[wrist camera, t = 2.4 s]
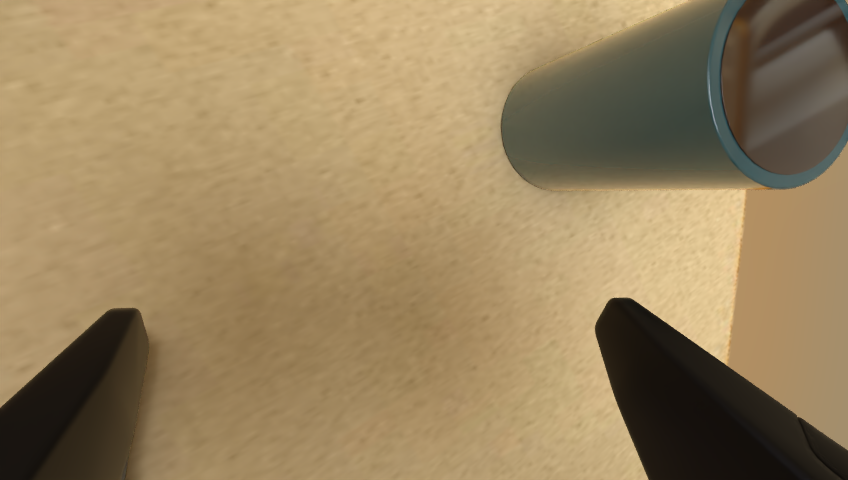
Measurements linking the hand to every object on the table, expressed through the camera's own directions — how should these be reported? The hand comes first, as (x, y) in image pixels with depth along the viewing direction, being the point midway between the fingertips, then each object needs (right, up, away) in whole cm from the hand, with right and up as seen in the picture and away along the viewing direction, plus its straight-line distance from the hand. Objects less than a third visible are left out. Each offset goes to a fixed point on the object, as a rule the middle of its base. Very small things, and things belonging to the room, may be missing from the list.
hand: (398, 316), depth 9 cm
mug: (+9, +8, +18) cm, 21 cm away
